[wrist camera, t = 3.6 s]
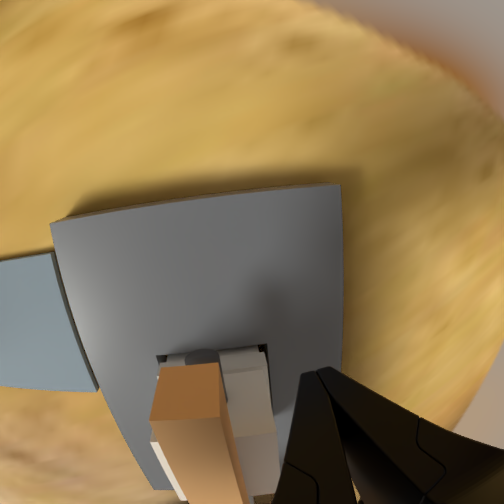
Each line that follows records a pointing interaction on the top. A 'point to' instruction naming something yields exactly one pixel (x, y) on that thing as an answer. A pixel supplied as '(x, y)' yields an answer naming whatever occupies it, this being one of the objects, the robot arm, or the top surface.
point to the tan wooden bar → (198, 434)
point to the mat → (39, 329)
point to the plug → (239, 414)
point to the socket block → (205, 293)
